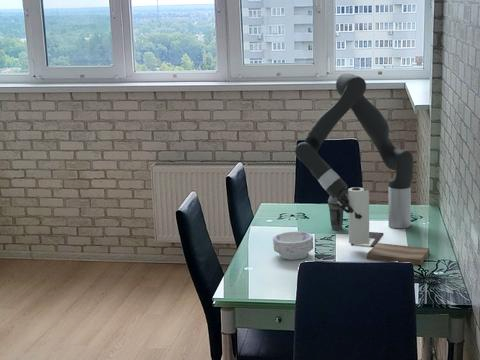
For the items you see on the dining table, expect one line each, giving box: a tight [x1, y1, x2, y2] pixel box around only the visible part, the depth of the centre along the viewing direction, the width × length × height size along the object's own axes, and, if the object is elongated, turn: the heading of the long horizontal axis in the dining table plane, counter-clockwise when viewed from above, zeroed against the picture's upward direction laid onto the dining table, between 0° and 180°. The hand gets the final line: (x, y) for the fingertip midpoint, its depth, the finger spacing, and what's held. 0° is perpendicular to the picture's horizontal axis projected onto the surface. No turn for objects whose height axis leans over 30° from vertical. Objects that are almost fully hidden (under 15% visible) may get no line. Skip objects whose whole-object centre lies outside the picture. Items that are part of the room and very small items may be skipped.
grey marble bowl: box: [272, 231, 314, 261], centre depth 269 cm, size 15×15×8 cm
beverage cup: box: [327, 195, 345, 231], centre depth 301 cm, size 7×7×20 cm
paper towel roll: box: [347, 187, 370, 245], centre depth 269 cm, size 7×6×21 cm
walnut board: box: [366, 242, 431, 266], centre depth 264 cm, size 14×20×2 cm
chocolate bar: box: [350, 231, 384, 248], centre depth 286 cm, size 9×1×18 cm
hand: (362, 217), depth 269 cm, fingers closed on paper towel roll, 3 cm apart
